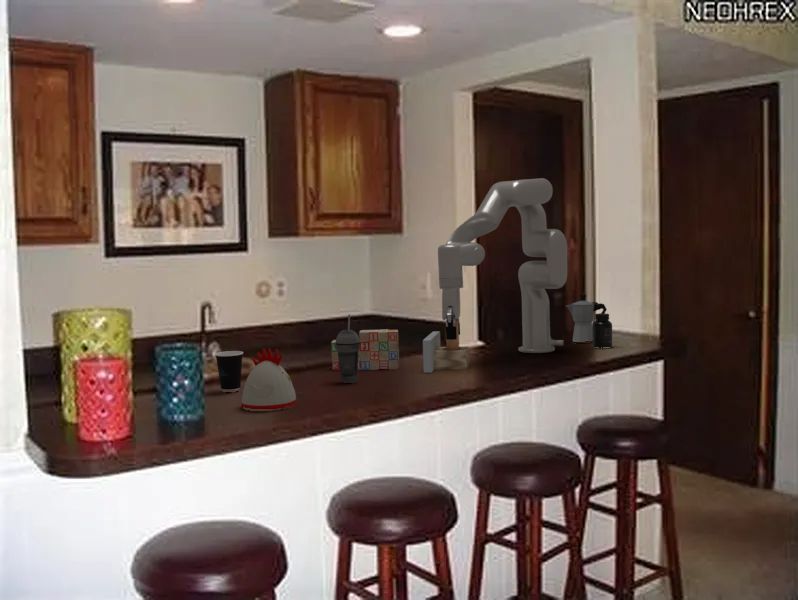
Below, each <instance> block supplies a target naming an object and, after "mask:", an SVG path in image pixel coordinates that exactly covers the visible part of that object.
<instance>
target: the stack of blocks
mask: <svg viewBox="0 0 798 600" xmlns="http://www.w3.org/2000/svg"><path fill="white" fill-rule="evenodd" d="M358 337H359V341H360V346H359V352H358V371H376V370H378V369H389V370H399V369H400V343H399V341H400V340H399V329H389V328H388V329H387V328H386V329H362V330H359V333H358ZM335 343H336V339H332V340H331V342H330V348H331V349H330V350H331V369H332V370H335V371H340V368H339V360H338V352H337V349H336V344H335ZM398 368H399V369H398ZM378 371H379V370H378Z"/></svg>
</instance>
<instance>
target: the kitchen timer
mask: <svg viewBox="0 0 798 600" xmlns="http://www.w3.org/2000/svg"><path fill="white" fill-rule="evenodd" d="M267 350H268V351H266V349H265V348H262V353H261V354H260V352H256V356H257V359H256V358H255V357H253V356H252V357H251V361H252V362H253V365H254V367H253V368H252V369H251V370H250V373H249V374H248V376H247V378H246V380H245V383H244V387H243V391H242V394H241V407H242V406H243V407H245V408H250V409H277V408H284V407H289V406H292V405H294V404H296V405H297V395H296V390H295V388H294V385H293V382H292V380H291V379H292V378H291V377H290V376H289V374H288V373H287V371H286V369H284V367H282V366H281V365H280V364H281V361H282V359H283V356H284V353H281V355H279V353H278V352H279V350H278V348H276V349H275V351H274V352H273V353H274V355H273V354H272V350H271V348H270V347H269V348H268V349H267ZM257 360H258V361H257Z"/></svg>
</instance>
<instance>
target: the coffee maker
mask: <svg viewBox="0 0 798 600" xmlns="http://www.w3.org/2000/svg"><path fill="white" fill-rule="evenodd" d="M586 297H587V294H579V298H580V300H579V301H576V302H573V303H571V304H567V305H566V308H567V309H568V311H569V312H570V314H571V316H572V321H573V322H574V326H573V334H572V341H573V342H585V341H592V340H593V337H592V324H593V322H594V318H595V312H596V311H599V310H601V309H602V311H601V313H606V312H607V307H606V305H605V304H604V303H599V302H597V301H592V302H591V301H588V300H586V299H587V298H586ZM573 342H572V343H573Z"/></svg>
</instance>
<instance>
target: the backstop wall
mask: <svg viewBox="0 0 798 600" xmlns="http://www.w3.org/2000/svg"><path fill="white" fill-rule="evenodd" d="M437 347H441V331H438V330H437V331H432V332H431V333H429V334H428V335H427V336H426V337H425V338H424V339H423V340H422V360H423V373H424V374H425V373H426V374H428V373H429V374H430V373H431V374H432V373H433V371H435V370H434V351H435V350H436V349H437Z"/></svg>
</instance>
